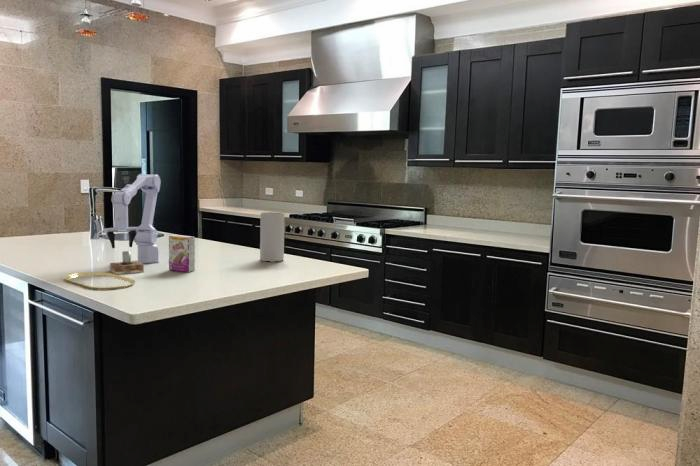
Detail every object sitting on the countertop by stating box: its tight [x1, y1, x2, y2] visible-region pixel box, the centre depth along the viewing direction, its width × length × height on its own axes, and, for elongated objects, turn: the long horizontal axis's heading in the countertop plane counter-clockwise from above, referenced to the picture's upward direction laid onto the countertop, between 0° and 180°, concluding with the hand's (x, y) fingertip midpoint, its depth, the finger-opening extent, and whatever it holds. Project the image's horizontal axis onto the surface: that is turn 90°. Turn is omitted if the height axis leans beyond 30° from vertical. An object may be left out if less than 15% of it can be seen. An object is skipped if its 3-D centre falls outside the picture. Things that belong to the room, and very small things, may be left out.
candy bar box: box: [168, 234, 196, 273], centre depth 254 cm, size 11×5×16 cm, turn 71°
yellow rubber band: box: [64, 271, 136, 290], centre depth 227 cm, size 19×35×2 cm, turn 52°
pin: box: [121, 250, 132, 265], centre depth 250 cm, size 4×4×8 cm
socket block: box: [109, 260, 145, 275], centre depth 250 cm, size 12×10×4 cm
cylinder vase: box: [259, 211, 285, 263], centre depth 289 cm, size 12×12×25 cm
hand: (122, 247), depth 253 cm, fingers open, 7 cm apart
